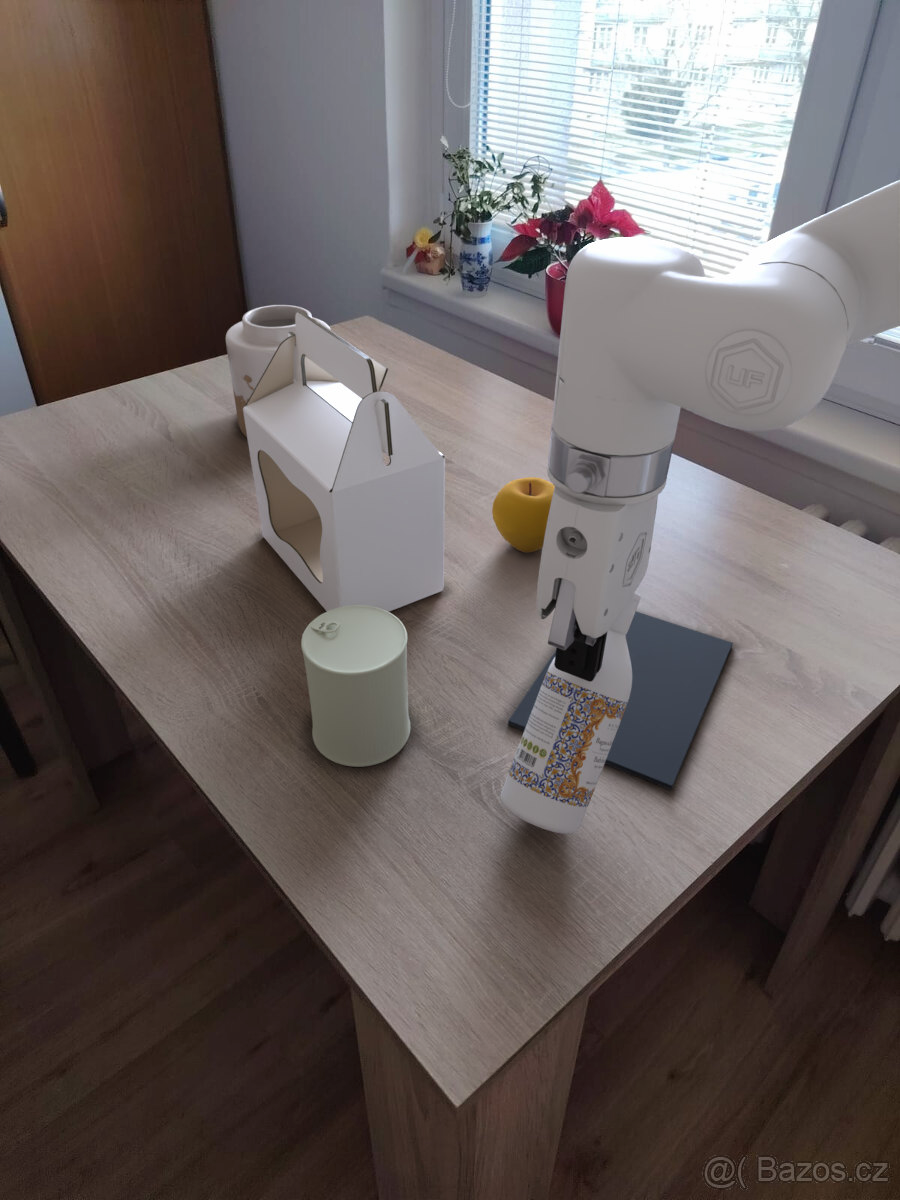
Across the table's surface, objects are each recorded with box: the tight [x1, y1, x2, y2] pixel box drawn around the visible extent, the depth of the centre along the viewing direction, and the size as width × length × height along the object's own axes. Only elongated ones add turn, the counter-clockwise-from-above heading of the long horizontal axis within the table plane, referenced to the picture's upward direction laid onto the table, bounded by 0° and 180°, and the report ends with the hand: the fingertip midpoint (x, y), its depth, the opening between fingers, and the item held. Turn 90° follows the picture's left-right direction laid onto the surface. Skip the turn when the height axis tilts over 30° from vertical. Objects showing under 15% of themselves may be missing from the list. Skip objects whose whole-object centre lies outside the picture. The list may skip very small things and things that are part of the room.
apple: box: [491, 476, 555, 553], centre depth 100 cm, size 9×9×9 cm
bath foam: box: [499, 591, 642, 835], centre depth 67 cm, size 7×7×20 cm
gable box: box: [243, 312, 446, 612], centre depth 91 cm, size 22×13×28 cm, turn 33°
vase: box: [225, 304, 332, 438], centre depth 123 cm, size 15×15×17 cm
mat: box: [507, 611, 734, 791], centre depth 83 cm, size 22×16×1 cm
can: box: [300, 605, 411, 768], centre depth 74 cm, size 9×9×12 cm
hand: (577, 668), depth 63 cm, fingers closed
